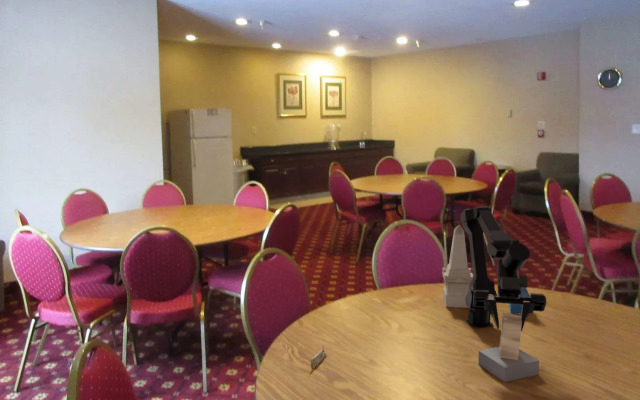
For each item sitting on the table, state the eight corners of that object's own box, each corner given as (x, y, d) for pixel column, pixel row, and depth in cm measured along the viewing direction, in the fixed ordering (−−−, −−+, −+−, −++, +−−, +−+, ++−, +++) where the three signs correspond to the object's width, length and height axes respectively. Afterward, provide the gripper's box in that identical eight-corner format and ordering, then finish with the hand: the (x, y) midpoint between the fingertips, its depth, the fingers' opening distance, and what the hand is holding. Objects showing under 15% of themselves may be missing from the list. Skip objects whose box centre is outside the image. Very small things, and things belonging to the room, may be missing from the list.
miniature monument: (441, 297, 202) (443, 221, 197) (469, 298, 200) (471, 221, 196) (444, 307, 192) (445, 227, 187) (473, 308, 190) (476, 227, 186)
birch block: (499, 350, 145) (502, 313, 143) (516, 352, 144) (520, 315, 142) (500, 357, 141) (503, 319, 139) (518, 360, 140) (521, 321, 138)
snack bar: (313, 370, 145) (313, 360, 145) (308, 369, 146) (308, 359, 145) (327, 356, 154) (326, 346, 153) (322, 355, 154) (322, 346, 154)
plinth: (510, 357, 150) (511, 344, 150) (538, 374, 140) (539, 360, 140) (478, 364, 147) (478, 350, 146) (504, 382, 136) (505, 367, 136)
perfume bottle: (527, 308, 189) (528, 276, 187) (529, 314, 183) (530, 281, 181) (509, 307, 191) (510, 275, 189) (510, 313, 185) (512, 280, 183)
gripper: (474, 261, 145) (474, 314, 136) (547, 265, 140) (551, 319, 132) (473, 280, 154) (473, 331, 145) (541, 284, 149) (545, 337, 140)
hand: (509, 329), depth 140 cm, fingers open, 6 cm apart
